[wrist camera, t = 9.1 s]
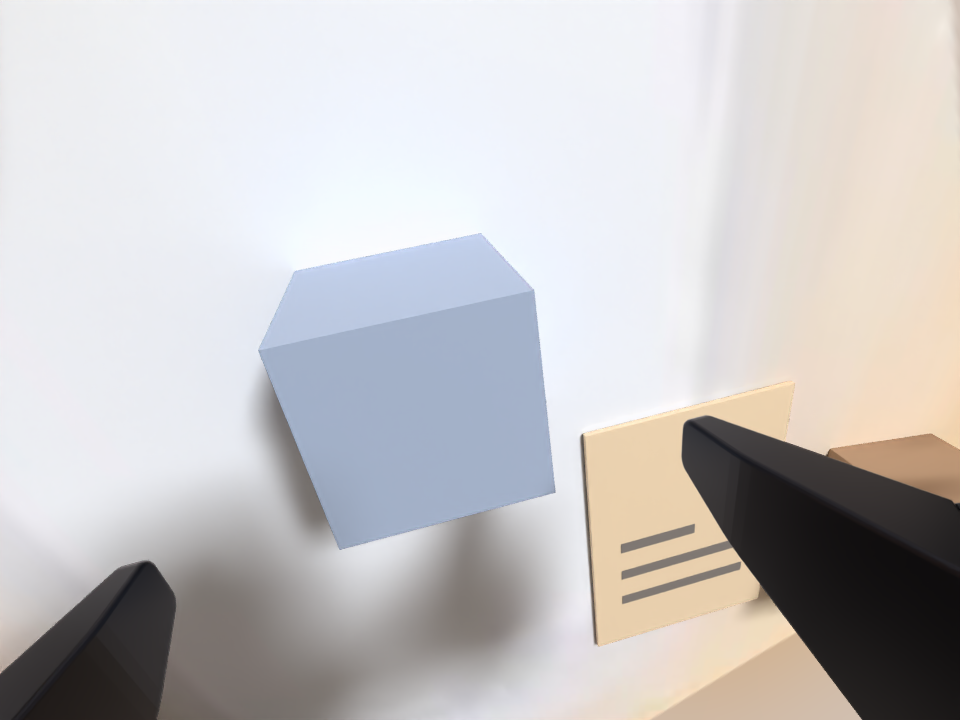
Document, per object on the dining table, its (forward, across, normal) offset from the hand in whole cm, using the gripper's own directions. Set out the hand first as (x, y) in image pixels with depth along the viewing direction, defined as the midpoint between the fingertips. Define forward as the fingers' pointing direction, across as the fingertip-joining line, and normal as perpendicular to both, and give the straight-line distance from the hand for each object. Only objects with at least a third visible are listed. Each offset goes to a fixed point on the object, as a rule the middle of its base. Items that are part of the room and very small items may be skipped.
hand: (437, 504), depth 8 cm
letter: (+7, -9, +11) cm, 16 cm away
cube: (+7, 0, 0) cm, 7 cm away
